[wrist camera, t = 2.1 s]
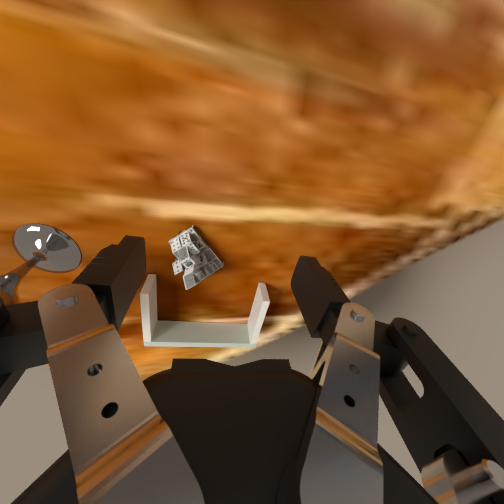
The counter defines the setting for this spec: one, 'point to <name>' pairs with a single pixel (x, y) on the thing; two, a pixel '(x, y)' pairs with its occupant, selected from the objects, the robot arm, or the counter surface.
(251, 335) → the box
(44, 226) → the wine glass
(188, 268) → the house of cards
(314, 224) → the counter surface
